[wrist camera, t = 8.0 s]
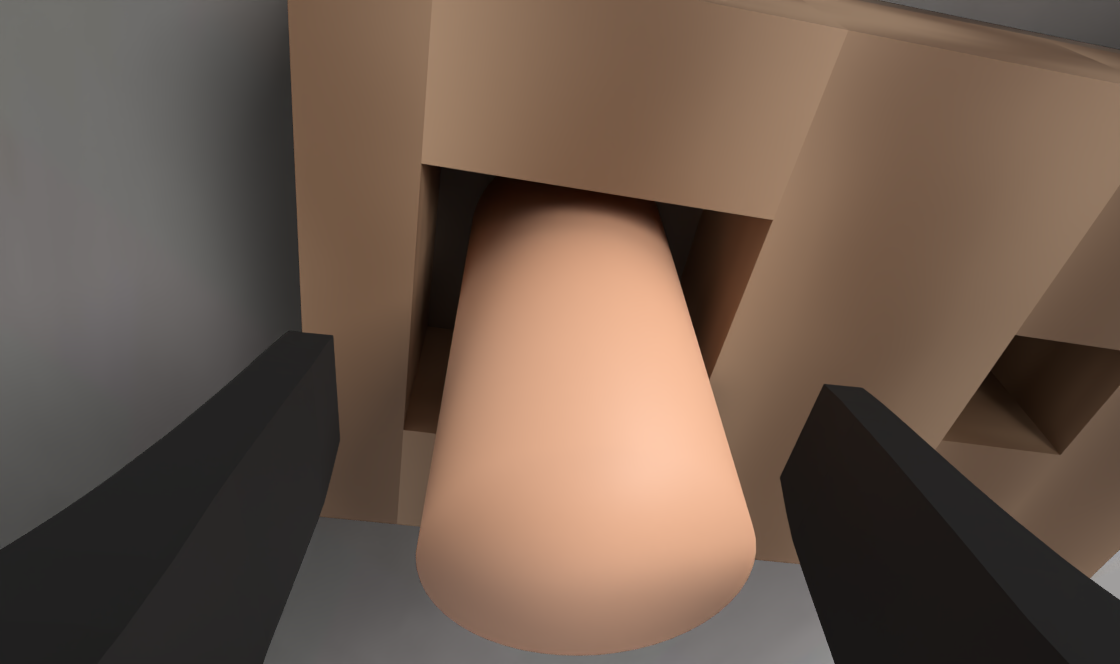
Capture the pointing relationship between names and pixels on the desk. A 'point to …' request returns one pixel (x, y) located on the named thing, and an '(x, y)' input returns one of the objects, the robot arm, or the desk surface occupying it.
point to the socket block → (738, 223)
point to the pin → (578, 436)
